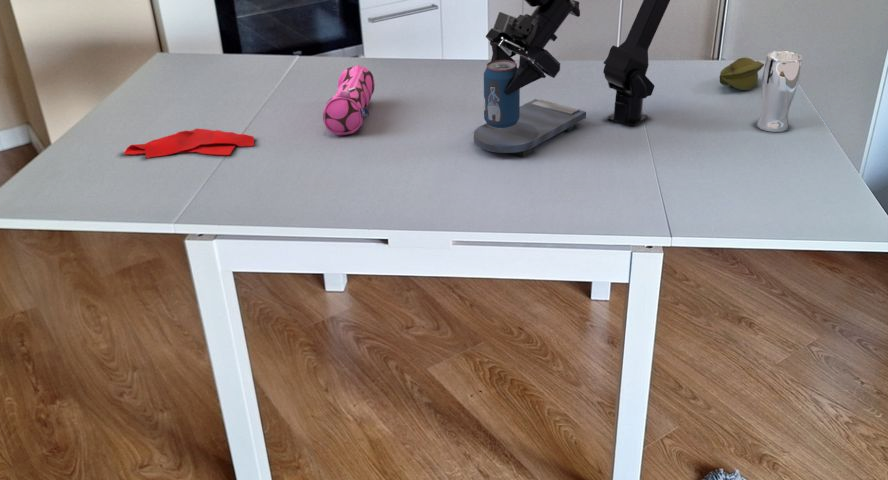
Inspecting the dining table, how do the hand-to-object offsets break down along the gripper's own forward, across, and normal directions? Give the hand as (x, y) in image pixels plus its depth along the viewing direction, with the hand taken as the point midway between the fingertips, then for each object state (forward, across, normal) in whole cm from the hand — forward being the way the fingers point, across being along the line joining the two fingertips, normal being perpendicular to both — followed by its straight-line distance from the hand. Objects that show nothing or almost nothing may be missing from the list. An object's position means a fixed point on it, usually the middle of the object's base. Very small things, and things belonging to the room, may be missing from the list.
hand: (495, 88), depth 173 cm
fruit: (-37, -3, +58) cm, 69 cm away
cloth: (+46, -36, -28) cm, 64 cm away
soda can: (+5, 0, +6) cm, 8 cm away
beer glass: (-29, +19, +49) cm, 60 cm away
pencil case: (+22, -32, -3) cm, 38 cm away
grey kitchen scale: (+3, -3, +16) cm, 16 cm away
